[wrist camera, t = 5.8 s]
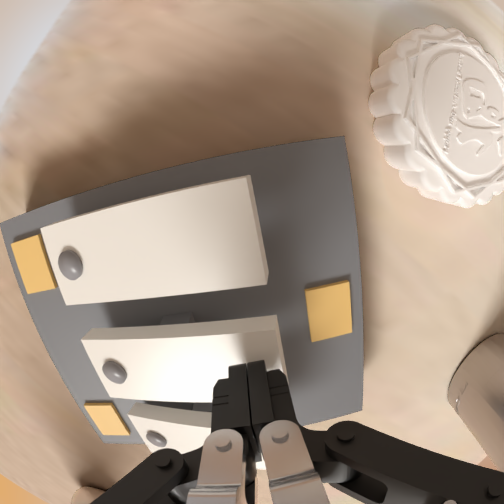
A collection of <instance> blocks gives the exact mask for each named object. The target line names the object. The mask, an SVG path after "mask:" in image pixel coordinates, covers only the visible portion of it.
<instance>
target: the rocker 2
mask: <svg viewBox="0 0 504 504" xmlns="http://www.w3.org/2000/svg"><path fill="white" fill-rule="evenodd" d="M127 415H128V417H129V418H130V420H131V422H132V423H133V425H134V427H135V428H136V430H137V431H138V433H139V435H140V436H141V438H142V439H143V441H144V442H145V444H146V445H147V447H148V448H149V450H150V451H151V452H153V453H154V452H155V451H157V450H160V449H164V448H171V449H175V450H177V451H179V452H180V453H181V454H184V453H187V452H190V451H193V450H196V449H198V448H200V447H201V446H203V444H204V441H205V439H206V438H207V437H208V436H209V435H210V434H211V417H212V412H201V411H192V410H184V409H176V408H169V407H162V406H155V405H149V404H143V403H137V402H136V403H135V404H134V405H133V407H132V408H131V410H130V411H129V412H128V414H127ZM261 455H262V453H261ZM256 469H264V470H266V466H265V461H264V460H263V456H262V461H261V462H256Z"/></svg>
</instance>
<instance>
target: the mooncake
mask: <svg viewBox="0 0 504 504" xmlns="http://www.w3.org/2000/svg"><path fill="white" fill-rule="evenodd" d="M378 65H379V68H377V69H375V70H374V71H373V72H372V74H371V76H370V84H371V87H372V89H373V91H374V92H373V93H372V94H371V95H370V97H369V100H368V107H369V110H370V112H371V114H372V115H373V116H374V117H375V118H376V119H375V121H374V123H373V132H374V135H375V137H376V139H377V140H378V141H379V142H380V143H381V144H383V145H384V157H385V159H386V161H387V163H388V164H389V165H390V166H392V167H393V168H396V169H398V171H399V176H400V178H401V180H402V181H403V182H404V183H405V184H406V185H408V186H411V187H415V188H417V190H418V192H419V193H420V194H421V195H422V196H424V197H426V198H429V199H433V200H437V201H440V202H444V203H448V204H453V205H456V206H460V207H463V208H470V207H472V206H474V205H475V203H476V204H480V205H485V204H487V203H489V202H490V200H491V199H492V196H493V195H499V194H501V193H502V192H503V190H504V74H503V73H502V72H501V71H500V70H499V66H498V64H497V61H496V60H495V58H494V57H493V56H492V55H491V54H489V53H487V52H484V49H483V47H482V46H481V44H480V43H479V42H478V41H477V40H475V39H474V38H471V37H466V36H465V35H464V34H463V33H462V32H461V31H460V30H458V29H456V28H448V29H445V28H444V27H442V26H440V25H437V24H432V25H429V26H428V27H426V28H424V29H422V28H415V29H413V30H411V31H410V32H408V33H407V34H405V35H403V36H402V37H400V38H399V39H397V40H395V41H394V42H393V43H392V46H391V47H390V48H388V49H387V50H385V51H384V52H382V53H381V54H380V56H379V58H378Z"/></svg>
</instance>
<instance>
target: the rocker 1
mask: <svg viewBox="0 0 504 504" xmlns="http://www.w3.org/2000/svg"><path fill="white" fill-rule="evenodd" d="M40 229H41V233H42V236H43V240H44V243H45V247H46V250H47V253H48V256H49V259H50V262H51V265H52V268H53V271H54V274H55V277H56V280H57V283H58V285H59V288H60V291H61V294H62V296H63V299H64V301H65V304H66V305H77V304H90V303H102V302H113V301H124V300H135V299H145V298H155V297H165V296H174V295H184V294H193V293H201V292H210V291H219V290H227V289H235V288H243V287H251V286H259V285H267V280H268V275H269V270H268V265H267V260H266V254H265V249H264V244H263V238H262V233H261V228H260V222H259V217H258V212H257V207H256V201H255V196H254V191H253V186H252V181H251V175H246V176H241V177H236V178H231V179H226V180H220V181H215V182H211V183H206V184H201V185H196V186H192V187H187V188H183V189H178V190H174V191H169V192H165V193H161V194H157V195H152V196H148V197H144V198H140V199H136V200H132V201H128V202H125V203H121V204H117V205H113V206H109V207H106V208H102V209H98V210H95V211H91V212H88V213H84V214H81V215H77V216H74V217H71V218H67V219H64V220H61V221H58V222H55V223H52V224H50V225H47V226H45V227H42V228H40Z"/></svg>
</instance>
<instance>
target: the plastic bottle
mask: <svg viewBox="0 0 504 504" xmlns="http://www.w3.org/2000/svg"><path fill="white" fill-rule="evenodd" d="M104 492H105V491H102V490H100V489H97V488H93V487H81V488H80V489H78V490H76V492H75V494H74V495H73V497H72V501H71V504H90V503H91V502H92V501H94V500H95V499H96V498H98V497H99V496H100V495H102V494H103V493H104Z"/></svg>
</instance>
